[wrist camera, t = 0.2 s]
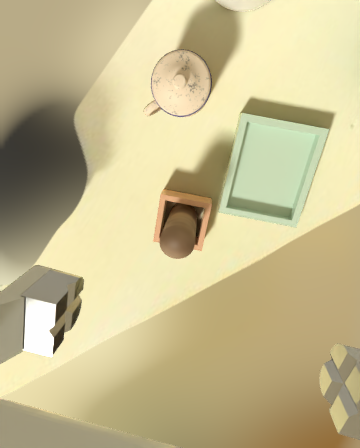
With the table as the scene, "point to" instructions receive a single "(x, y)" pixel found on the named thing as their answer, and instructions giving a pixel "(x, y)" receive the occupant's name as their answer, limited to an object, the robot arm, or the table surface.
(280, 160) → the sage tray
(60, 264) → the table surface
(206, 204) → the terracotta holder
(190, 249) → the walnut canister
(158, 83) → the teacup with lid
